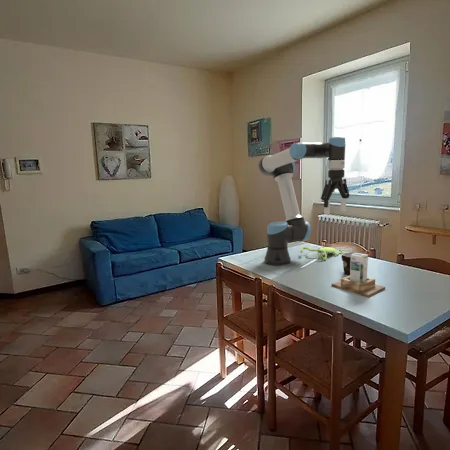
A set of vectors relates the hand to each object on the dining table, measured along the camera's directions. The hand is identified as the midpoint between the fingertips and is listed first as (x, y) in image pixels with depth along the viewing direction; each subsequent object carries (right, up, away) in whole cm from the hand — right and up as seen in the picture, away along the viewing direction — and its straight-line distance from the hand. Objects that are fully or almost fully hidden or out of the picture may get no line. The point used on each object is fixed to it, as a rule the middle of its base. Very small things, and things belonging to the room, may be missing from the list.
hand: (335, 212), depth 164 cm
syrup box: (+5, -34, -15) cm, 37 cm away
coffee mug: (+10, -31, +6) cm, 33 cm away
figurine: (+5, -26, +39) cm, 47 cm away
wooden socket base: (+5, -35, -15) cm, 38 cm away
